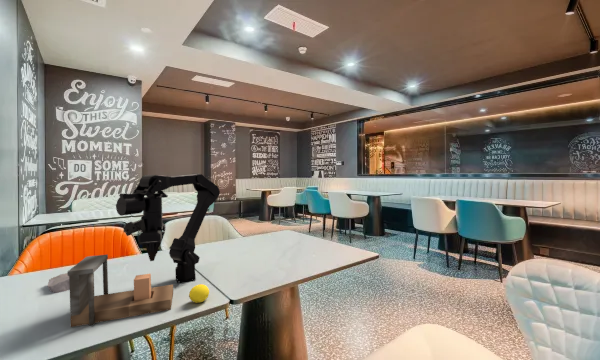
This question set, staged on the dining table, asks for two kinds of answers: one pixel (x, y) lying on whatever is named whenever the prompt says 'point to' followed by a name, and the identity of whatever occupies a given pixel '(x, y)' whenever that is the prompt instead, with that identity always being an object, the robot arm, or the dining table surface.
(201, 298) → the lemon
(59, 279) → the stone block
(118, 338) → the dining table surface
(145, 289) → the peg
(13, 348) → the dining table surface
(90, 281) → the socket stand
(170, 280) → the dining table surface
